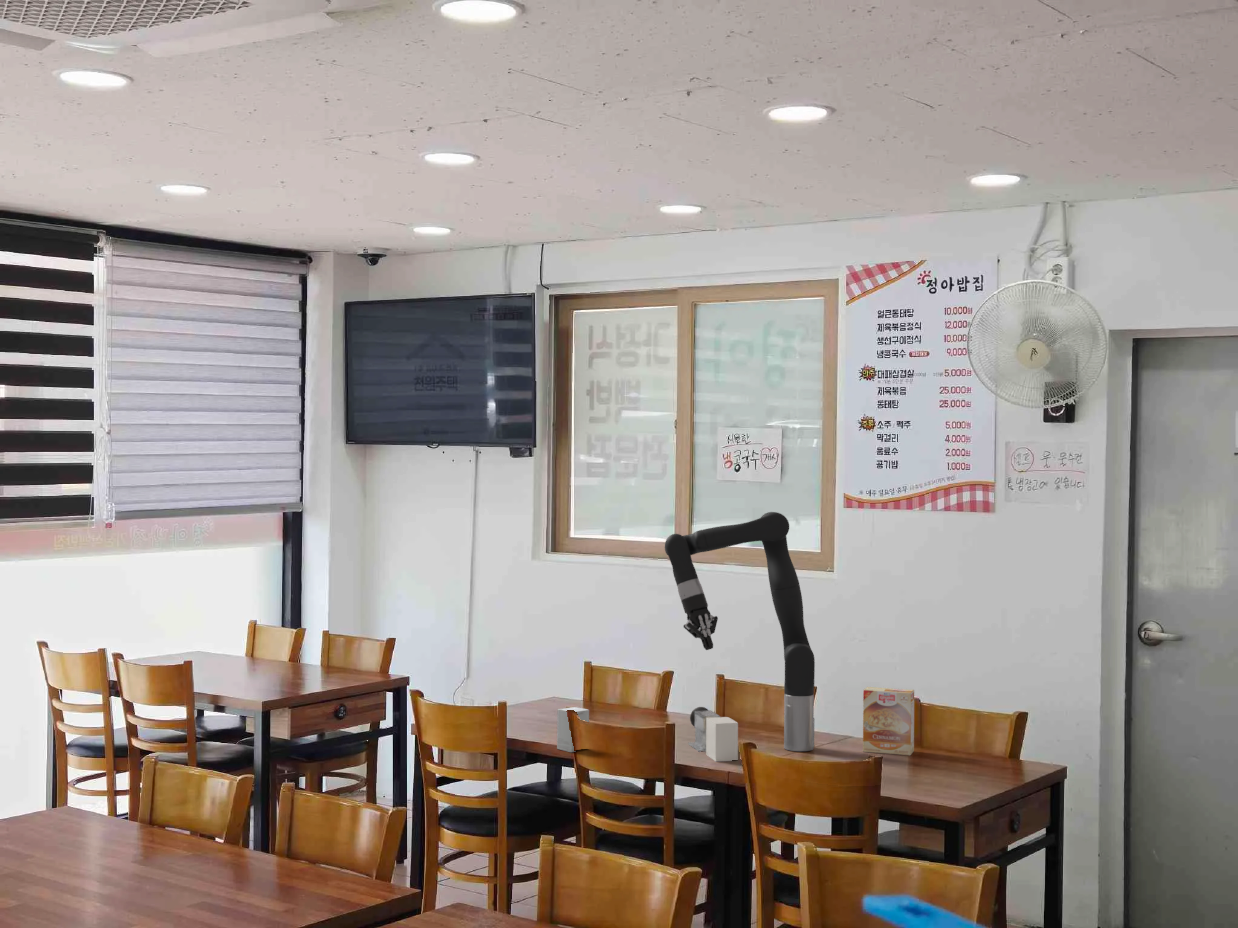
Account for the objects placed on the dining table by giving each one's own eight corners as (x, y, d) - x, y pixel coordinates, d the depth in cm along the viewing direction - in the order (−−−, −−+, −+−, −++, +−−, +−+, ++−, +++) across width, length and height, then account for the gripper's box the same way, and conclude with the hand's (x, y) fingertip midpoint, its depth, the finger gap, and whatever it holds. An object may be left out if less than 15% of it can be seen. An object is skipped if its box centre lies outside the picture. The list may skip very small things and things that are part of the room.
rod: (689, 728, 441) (690, 707, 441) (710, 728, 443) (711, 706, 443) (710, 742, 419) (710, 719, 419) (732, 741, 420) (732, 719, 420)
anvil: (688, 743, 439) (688, 710, 439) (715, 742, 441) (715, 709, 441) (698, 751, 428) (698, 717, 428) (726, 750, 430) (726, 716, 430)
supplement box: (571, 752, 425) (571, 711, 425) (556, 748, 431) (556, 708, 431) (589, 749, 430) (589, 709, 430) (574, 745, 435) (574, 706, 435)
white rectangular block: (706, 754, 423) (706, 717, 423) (727, 753, 425) (728, 716, 425) (715, 761, 413) (715, 723, 413) (737, 760, 415) (737, 722, 415)
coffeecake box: (862, 751, 429) (862, 689, 429) (866, 747, 435) (866, 686, 435) (911, 755, 423) (911, 692, 423) (914, 751, 430) (914, 688, 430)
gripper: (683, 596, 422) (700, 650, 418) (715, 589, 430) (732, 641, 426) (669, 602, 428) (686, 656, 424) (700, 595, 436) (718, 647, 432)
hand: (709, 649), depth 425 cm, fingers closed
